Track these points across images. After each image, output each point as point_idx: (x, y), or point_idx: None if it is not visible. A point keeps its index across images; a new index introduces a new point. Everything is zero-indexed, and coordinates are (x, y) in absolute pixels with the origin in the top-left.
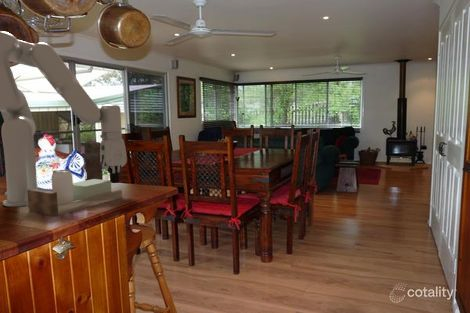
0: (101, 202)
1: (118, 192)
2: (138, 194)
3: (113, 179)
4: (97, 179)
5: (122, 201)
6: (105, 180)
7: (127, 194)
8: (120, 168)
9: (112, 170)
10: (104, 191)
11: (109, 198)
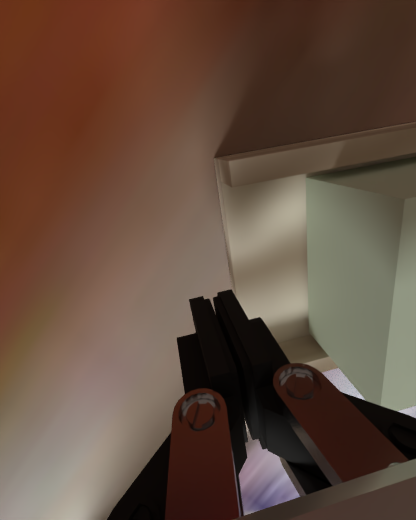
0: (412, 122)
1: (270, 151)
2: (45, 148)
3: (258, 325)
4: (390, 375)
5: (300, 29)
6: (405, 273)
7: (118, 226)
8: (133, 484)
9: (345, 403)
10: (411, 168)
11: (351, 135)
